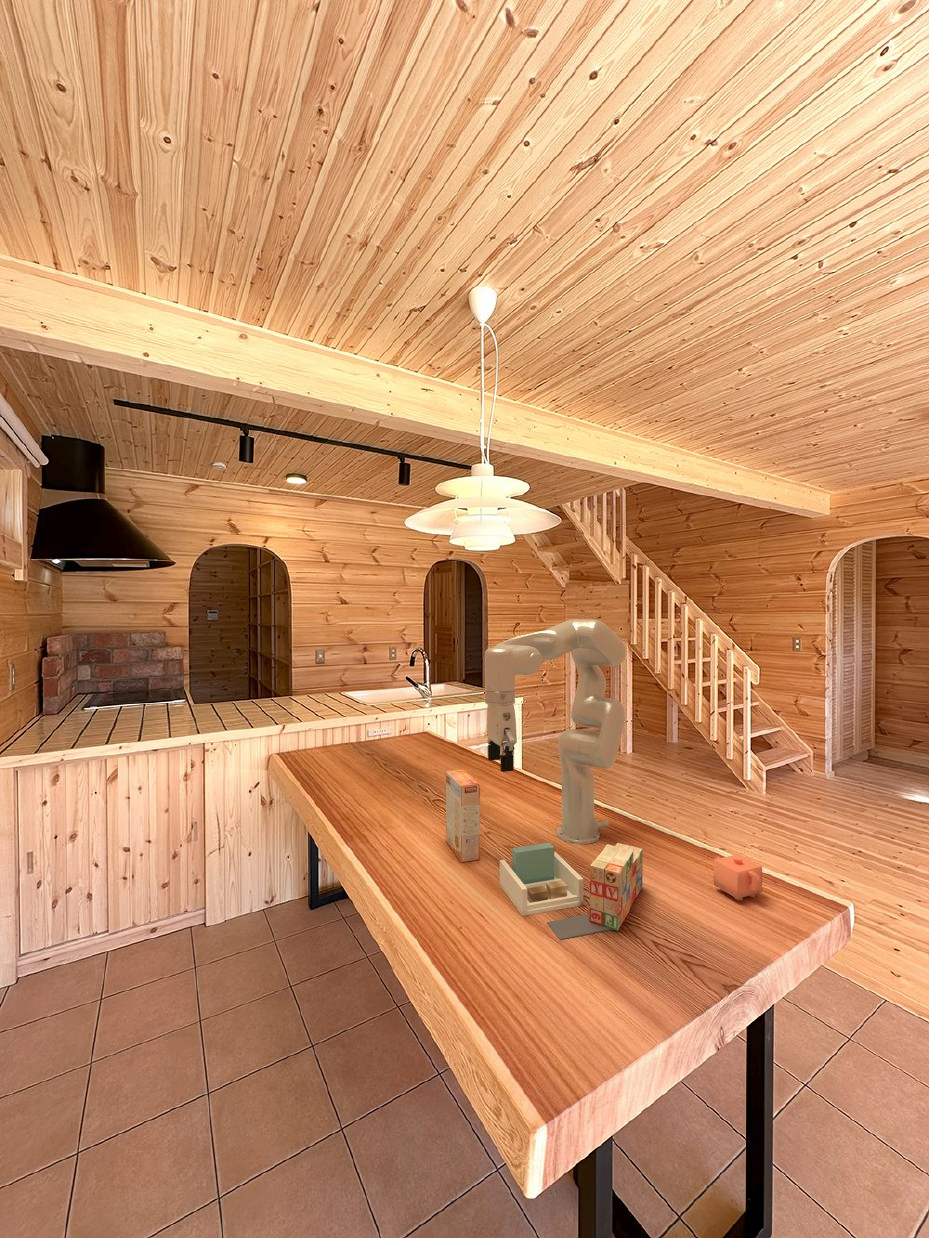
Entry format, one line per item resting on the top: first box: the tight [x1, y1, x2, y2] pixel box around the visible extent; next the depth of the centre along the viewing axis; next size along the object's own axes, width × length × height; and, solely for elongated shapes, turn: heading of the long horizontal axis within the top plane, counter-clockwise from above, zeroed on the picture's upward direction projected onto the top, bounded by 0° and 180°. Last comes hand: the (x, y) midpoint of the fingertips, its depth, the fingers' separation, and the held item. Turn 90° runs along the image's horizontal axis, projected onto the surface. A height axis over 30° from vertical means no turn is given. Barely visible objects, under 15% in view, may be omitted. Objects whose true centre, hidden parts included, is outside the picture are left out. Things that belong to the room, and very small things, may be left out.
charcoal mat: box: [546, 913, 614, 941], centre depth 110 cm, size 13×6×1 cm, turn 107°
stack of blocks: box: [588, 842, 644, 931], centre depth 118 cm, size 21×6×12 cm, turn 148°
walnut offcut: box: [527, 886, 548, 903], centre depth 118 cm, size 4×2×2 cm, turn 107°
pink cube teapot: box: [713, 854, 763, 902], centre depth 123 cm, size 8×12×8 cm, turn 21°
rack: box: [499, 851, 585, 917], centre depth 122 cm, size 15×14×6 cm
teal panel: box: [511, 842, 555, 884], centre depth 126 cm, size 10×2×8 cm, turn 107°
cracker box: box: [445, 769, 481, 863], centre depth 145 cm, size 14×6×21 cm, turn 18°
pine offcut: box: [546, 880, 567, 899], centre depth 119 cm, size 4×2×3 cm, turn 107°
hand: (500, 765), depth 130 cm, fingers open, 9 cm apart
